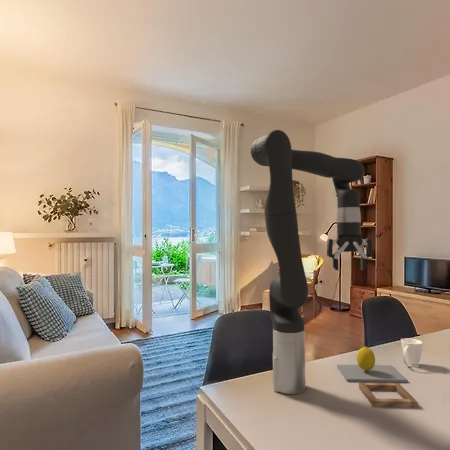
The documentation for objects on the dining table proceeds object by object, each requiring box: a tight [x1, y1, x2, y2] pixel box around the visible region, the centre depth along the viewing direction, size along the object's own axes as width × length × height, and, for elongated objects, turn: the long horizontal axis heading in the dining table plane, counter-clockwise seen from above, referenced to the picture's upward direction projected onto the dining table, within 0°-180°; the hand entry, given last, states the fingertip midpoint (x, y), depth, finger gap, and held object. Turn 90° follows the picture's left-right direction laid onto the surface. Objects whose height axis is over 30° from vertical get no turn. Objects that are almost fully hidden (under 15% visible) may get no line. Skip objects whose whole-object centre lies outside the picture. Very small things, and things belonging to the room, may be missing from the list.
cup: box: [400, 337, 423, 368], centre depth 121 cm, size 7×10×8 cm
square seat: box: [358, 382, 419, 409], centre depth 98 cm, size 11×11×2 cm
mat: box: [336, 364, 408, 383], centre depth 114 cm, size 18×12×1 cm, turn 86°
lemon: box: [356, 346, 376, 372], centre depth 115 cm, size 6×6×8 cm
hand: (349, 270), depth 118 cm, fingers open, 8 cm apart
